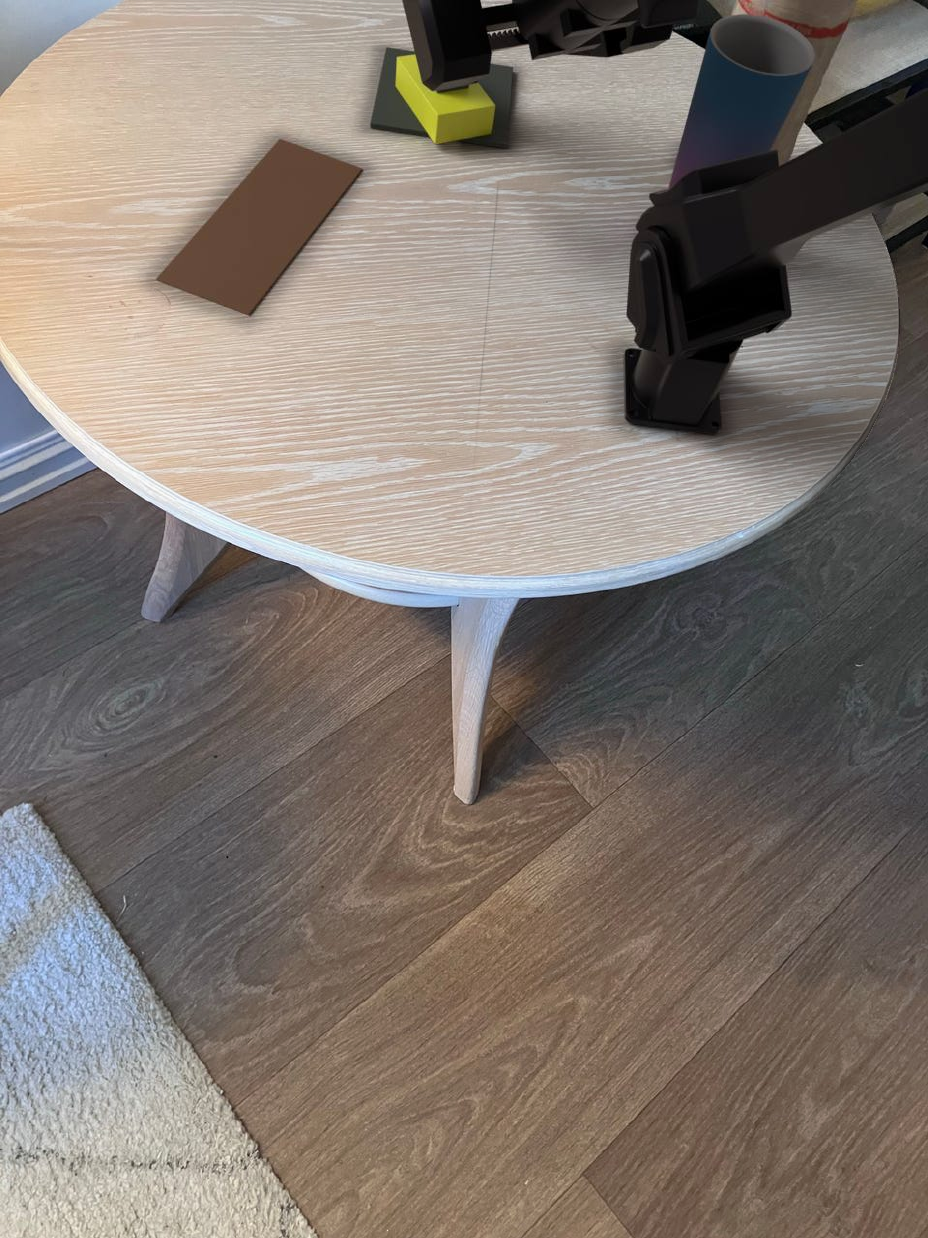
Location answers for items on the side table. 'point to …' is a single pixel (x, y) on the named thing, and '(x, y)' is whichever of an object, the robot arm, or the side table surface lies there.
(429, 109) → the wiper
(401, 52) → the mat
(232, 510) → the side table surface
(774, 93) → the cup
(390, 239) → the side table surface
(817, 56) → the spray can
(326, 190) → the brown rectangular board
